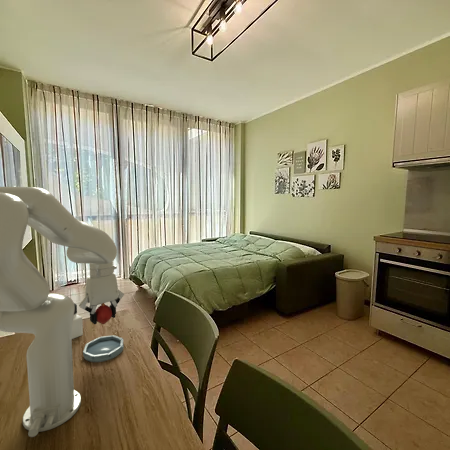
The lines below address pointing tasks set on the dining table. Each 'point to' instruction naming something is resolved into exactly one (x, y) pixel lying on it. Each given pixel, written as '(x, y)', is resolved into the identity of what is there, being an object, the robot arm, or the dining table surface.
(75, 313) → the container
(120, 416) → the dining table surface
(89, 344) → the dish
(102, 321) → the onion
